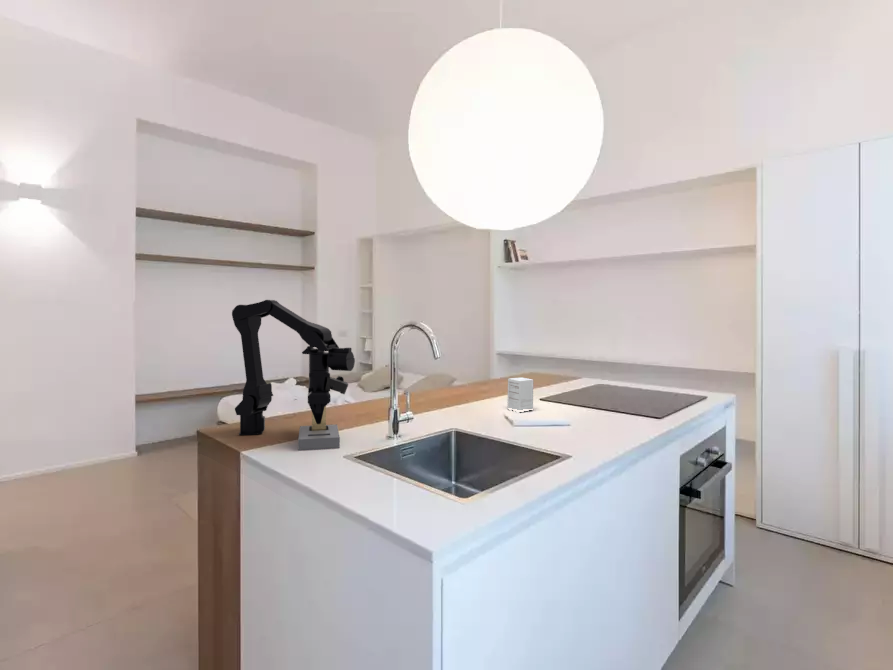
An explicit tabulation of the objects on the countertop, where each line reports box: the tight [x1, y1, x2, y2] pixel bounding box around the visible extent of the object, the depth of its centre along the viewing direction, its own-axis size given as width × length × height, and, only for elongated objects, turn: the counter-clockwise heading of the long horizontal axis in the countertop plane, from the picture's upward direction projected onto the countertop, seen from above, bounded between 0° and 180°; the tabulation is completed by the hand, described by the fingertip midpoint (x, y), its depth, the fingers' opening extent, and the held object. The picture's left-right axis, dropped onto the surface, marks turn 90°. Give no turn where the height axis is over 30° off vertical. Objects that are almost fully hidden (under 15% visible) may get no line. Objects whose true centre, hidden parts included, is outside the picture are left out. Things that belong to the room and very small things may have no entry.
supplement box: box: [507, 376, 534, 410], centre depth 191 cm, size 7×7×13 cm
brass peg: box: [311, 405, 327, 431], centre depth 144 cm, size 4×4×10 cm
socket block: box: [297, 424, 341, 451], centre depth 141 cm, size 11×16×3 cm
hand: (318, 421), depth 144 cm, fingers open, 6 cm apart
